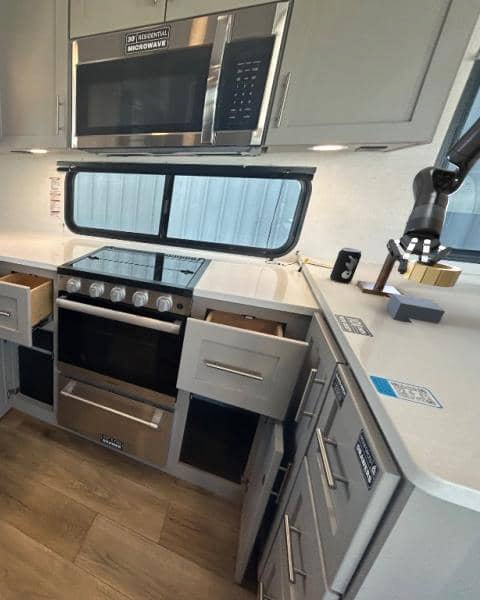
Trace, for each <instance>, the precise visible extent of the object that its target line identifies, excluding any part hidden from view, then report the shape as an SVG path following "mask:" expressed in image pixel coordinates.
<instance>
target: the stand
mask: <svg viewBox="0 0 480 600" xmlns="http://www.w3.org/2000/svg"><path fill="white" fill-rule="evenodd" d="M396 262H397V260H396V261H394V260H392V257H391V255H390V253H389V252H388V253H387V255H386V258H385V259H384V262H383V265H382V267H381V269H380V272H379V274H378V276H377V279H376V281H375V283H374V282H370V281H369V282H368V281H362V280H358V281H357V283H356V286H357V287H358V289H359V290H360V292H361V293H362V294H367V295H374V296H380V297H384V296H385V298H390V297H391V295H392V293H393V294H399V295H402V294H401V293H400V292H399V291H398V290H397V288H395V286H393V285H387V282H388V280H389V278H390V275H391V274H392V271H393V269H394V267H395V264H396Z"/></svg>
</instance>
